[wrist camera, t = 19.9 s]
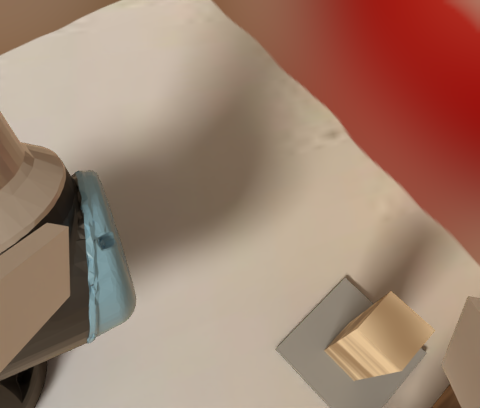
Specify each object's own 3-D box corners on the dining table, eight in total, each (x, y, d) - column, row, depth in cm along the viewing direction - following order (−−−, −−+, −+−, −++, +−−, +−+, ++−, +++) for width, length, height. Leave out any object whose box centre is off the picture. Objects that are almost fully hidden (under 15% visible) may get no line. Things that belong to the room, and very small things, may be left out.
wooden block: (353, 380, 42) (401, 370, 29) (323, 350, 43) (357, 328, 30) (378, 352, 43) (435, 330, 30) (348, 323, 44) (391, 291, 31)
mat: (356, 436, 40) (358, 436, 39) (275, 349, 43) (275, 348, 43) (424, 353, 43) (426, 353, 43) (343, 278, 47) (345, 277, 46)
